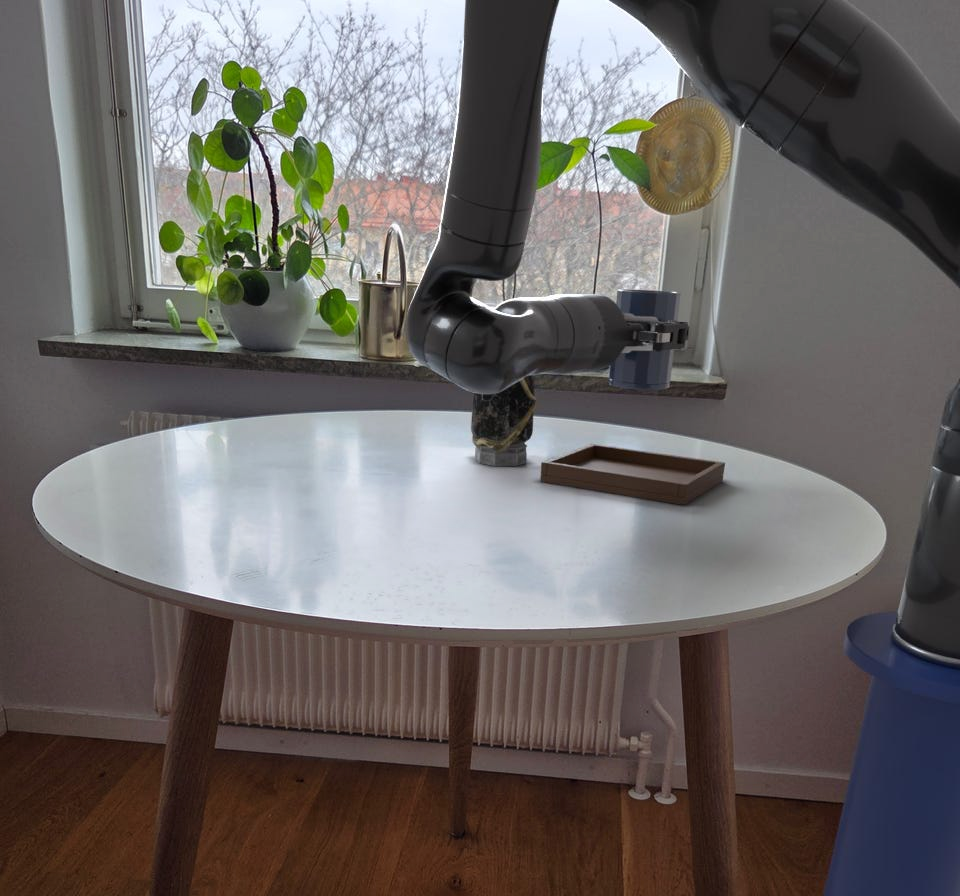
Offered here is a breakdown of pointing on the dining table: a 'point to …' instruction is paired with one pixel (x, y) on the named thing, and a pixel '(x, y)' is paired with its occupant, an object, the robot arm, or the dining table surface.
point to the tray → (634, 473)
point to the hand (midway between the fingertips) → (654, 329)
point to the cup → (643, 365)
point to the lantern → (504, 421)
